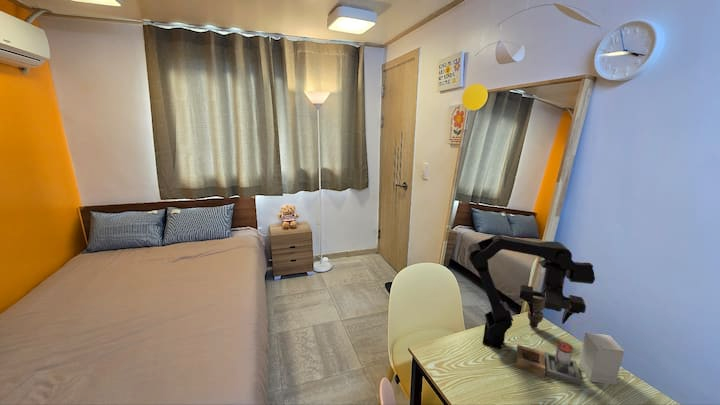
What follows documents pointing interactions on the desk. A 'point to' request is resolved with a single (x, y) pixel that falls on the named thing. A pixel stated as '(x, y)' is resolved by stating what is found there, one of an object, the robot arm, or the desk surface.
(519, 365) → the socket block
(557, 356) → the grey and red cylinder
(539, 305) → the light bulb
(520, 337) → the desk surface
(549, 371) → the tray
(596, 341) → the supplement box
